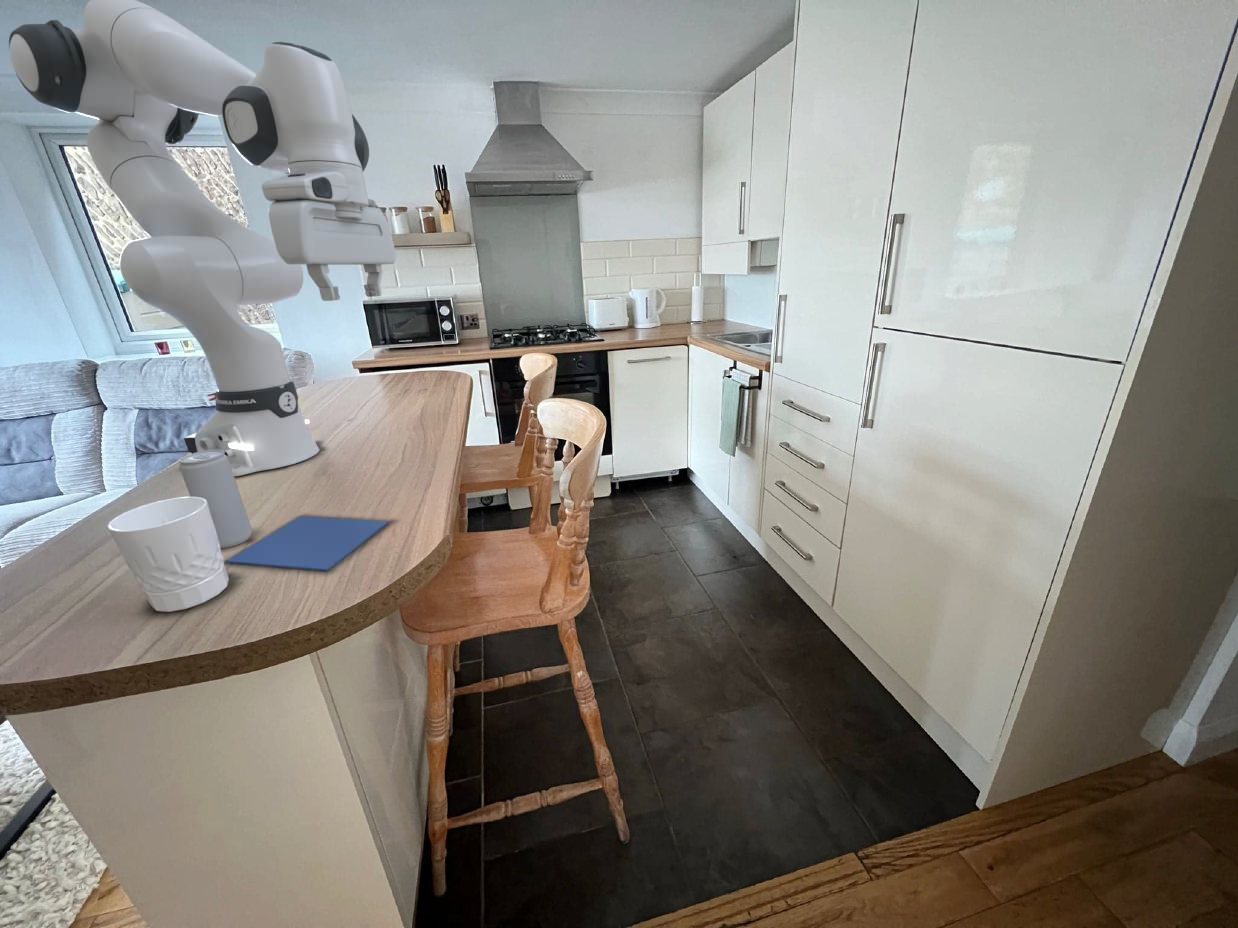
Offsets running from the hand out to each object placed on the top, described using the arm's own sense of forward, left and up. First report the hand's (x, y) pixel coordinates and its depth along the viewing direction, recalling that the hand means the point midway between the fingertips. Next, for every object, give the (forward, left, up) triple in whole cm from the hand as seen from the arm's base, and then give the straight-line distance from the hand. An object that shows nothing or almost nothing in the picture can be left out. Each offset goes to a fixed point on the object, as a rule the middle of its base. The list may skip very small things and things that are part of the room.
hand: (353, 298), depth 74 cm
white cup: (-4, -32, -29) cm, 44 cm away
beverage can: (-10, -21, -29) cm, 37 cm away
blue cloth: (+2, -20, -29) cm, 35 cm away
